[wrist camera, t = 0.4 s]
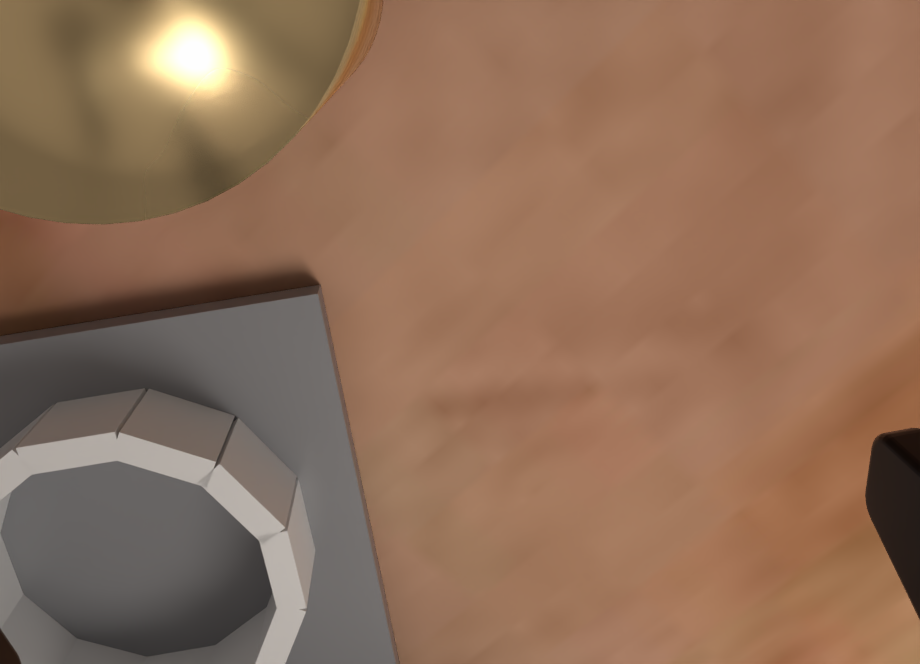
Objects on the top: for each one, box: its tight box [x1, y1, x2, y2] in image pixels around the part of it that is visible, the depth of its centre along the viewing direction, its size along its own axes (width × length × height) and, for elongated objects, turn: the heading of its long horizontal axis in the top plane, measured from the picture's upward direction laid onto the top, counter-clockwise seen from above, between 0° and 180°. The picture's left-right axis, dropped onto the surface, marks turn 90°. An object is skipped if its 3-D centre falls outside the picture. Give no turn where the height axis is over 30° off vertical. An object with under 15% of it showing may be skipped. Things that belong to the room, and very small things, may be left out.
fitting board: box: [0, 285, 400, 664], centre depth 23 cm, size 17×12×3 cm
